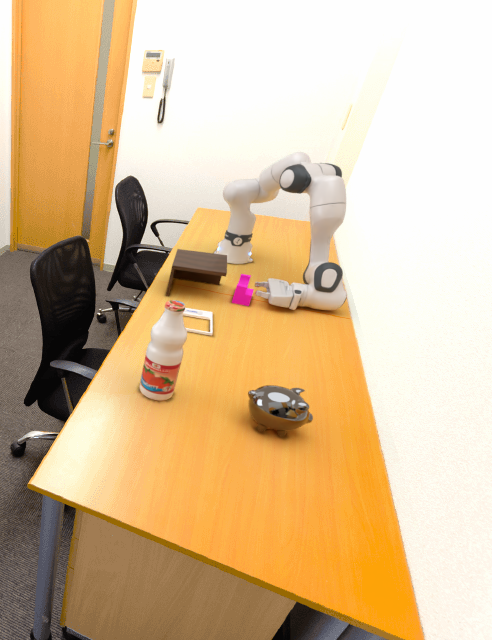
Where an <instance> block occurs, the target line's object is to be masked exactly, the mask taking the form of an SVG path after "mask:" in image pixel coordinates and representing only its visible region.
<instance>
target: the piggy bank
mask: <svg viewBox="0 0 492 640" xmlns="http://www.w3.org/2000/svg"><path fill="white" fill-rule="evenodd" d="M304 392H306V390H305V389H303V388H301V387H292V388H287V387H285V386H280V385H275V384H267V385H262V386H258V387H257V388H256V389H252V390H248V391H247V395H248V412H249V414H250V416H251V418H252V419H253V420H254V422H256V424H257V425H256V430H257V431H258V432H260V433H263V432H265V431H267V429H270V430H274V431H275V432H276V434H277V435H278V436H279V437H285V436H286V434H287V433H288V432H289V431H294V430H297V429H300V428H302V427H304V426H305V425H308V424H311V423H312V422H313V420H314V416H313V413H311V412H310V404H309V403H308V402H306V400H305V399H304V397H303V396H302V395H301V393H304Z"/></svg>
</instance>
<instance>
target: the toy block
mask: <svg viewBox="0 0 492 640" xmlns="http://www.w3.org/2000/svg"><path fill="white" fill-rule="evenodd" d="M251 277H252V275H250V274H245V273H241V274H240V276H239V278H238V283H237V284H236V287H235V290H234V293H233V297H232V299H231V304H236V305H240V306H245V307H249V306H250V303H251V301H252V298H253V294H254V290H255V289H254V288H249V284H250V280H251Z"/></svg>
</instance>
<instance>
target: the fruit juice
mask: <svg viewBox="0 0 492 640" xmlns="http://www.w3.org/2000/svg"><path fill="white" fill-rule="evenodd" d="M185 308H186V303H184V302H182V301H180V300H175V299H172V300H171V299H170V300H167V301H166V302H165V304H164V311H163V313H162V314H161V316H160V317H159V319H158V320H157V321H156V322H155V323H154V324H153V325H152V328H151V329H150V341H149V342H148V344H147V347H146V351H145V356H144V360H143V366H142V371H141V376H140V381H139V391H140V393H141V394H142V395H143V396H144V397H146V398H148V399H151V400H153V401H154V400H155V401H167V400H169V399H171V398H172V396H173V395H174V393H175V388H176V385H177V382H178V376H179V374H180V369H181V365H182V361H183V357H184V345H185V344H186V342H187V339H188V331H187V330H186V328H187V327H186V326H185V321H184V315H183V312H184V310H185Z"/></svg>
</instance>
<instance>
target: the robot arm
mask: <svg viewBox="0 0 492 640" xmlns="http://www.w3.org/2000/svg"><path fill="white" fill-rule="evenodd" d="M346 189H347V188H346V184H345V181H344V178H343V171H342V169H341V167H340V166H338V165H337V164H333V163H329V162H312V160H311V157H310V156H309V154H307V153H306V152H304V151H296V152H293V153H290V154H287V155H286V156H284V157H281V158H280V159H278V160H276V161H275V162H273V163H272V164H269V165H268V166H267V167H265V168H264V169H263V170H261V171H260V173H259V176H258V177H256V178H240V179H235V180H232V181H229V182H227V183H226V185H225V186H224V188H223V190H222V198H223V200H224V202H226V203H227V205H228V208H229V211H230V213H229V214H230V215H229V221H228V225H227V229H226V230H225V232H224V236H223V239H222V240H221V241H219V242H218V243H217V248H216V250H214V252H213V253H214V254H222V255H227V264H234V265H242V264H248V263H253V261H254V259H253V258H252V257H251V255H252V250H253V244H252V243H251V241H252V238H253V234H254V233H253V231H254V228H255V224H256V221H257V217H256V215H255V213H253V212H252V211H251V204H263V203H268V202H271V201H274V200H275V199H276V198H277V197H278V195H279V194H280V190H282V191H284V192H286V193H289V194H307V195H308V196H309V228H310V244H309V245H310V246H309V256H308V257H309V259H308V263H307V266H306V268H305V269H304V271H303V274H302V281H303V283H300V282H291V283H289V282H288V281H287V280H284V279H278V278H273V277H271V278H270V277H269V278H267V280H266V281H255V282H254V284H253V285H254V286H253V287H255V288H264V289H266V291H262V290H260V289H257V290H256V291H255V296H256V297H261V298H263V299H266V300H268V304H270V305H272V306H276V307H281V308H288V309H289V310H293V311H295V310H296V309H297V308H298V307H301V308H303V307H307V308H310V309H314V310H322V311H336V310H339V309H340V308H341V307H342V306H343V305H344V304H345V302H346V300H347V297H348V292H347V291H346V289H345V286H344V281H343V275H344V272H343V269H342V267H341V265H339V264H337V263H335V262H332V261H331V262H330V261H329V260H330V248H331V240H332V239H333V236H334V235H335V233H336V231H337V230H338V229H339V228H340V227H341V225H343V223H344V220H345V216H346V212H347V190H346Z"/></svg>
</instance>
